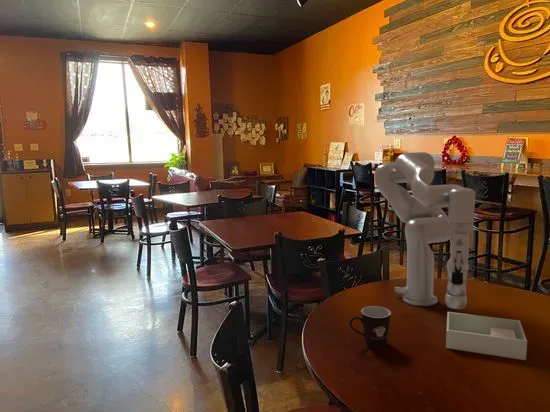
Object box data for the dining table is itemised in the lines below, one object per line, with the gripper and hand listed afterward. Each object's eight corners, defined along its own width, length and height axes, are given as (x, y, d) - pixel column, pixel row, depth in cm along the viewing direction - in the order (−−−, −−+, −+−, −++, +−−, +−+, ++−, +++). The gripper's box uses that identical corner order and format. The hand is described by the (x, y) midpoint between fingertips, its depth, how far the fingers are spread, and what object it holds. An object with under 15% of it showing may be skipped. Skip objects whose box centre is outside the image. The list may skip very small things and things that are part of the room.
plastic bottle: (468, 312, 134) (472, 252, 130) (446, 311, 135) (449, 251, 131) (463, 304, 140) (467, 246, 136) (442, 303, 141) (445, 246, 138)
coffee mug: (391, 338, 128) (391, 307, 126) (389, 352, 120) (389, 319, 118) (353, 334, 132) (353, 304, 130) (349, 346, 124) (349, 314, 122)
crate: (445, 349, 120) (446, 330, 119) (446, 329, 133) (447, 311, 132) (525, 362, 112) (527, 341, 111) (518, 339, 125) (519, 320, 124)
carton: (491, 347, 119) (492, 334, 119) (490, 339, 124) (490, 327, 123) (515, 351, 117) (516, 337, 116) (513, 343, 122) (513, 330, 121)
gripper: (474, 234, 123) (470, 291, 126) (472, 221, 139) (468, 273, 142) (446, 232, 126) (443, 288, 129) (447, 220, 142) (445, 270, 145)
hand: (456, 279), depth 136 cm, fingers closed on plastic bottle, 6 cm apart
